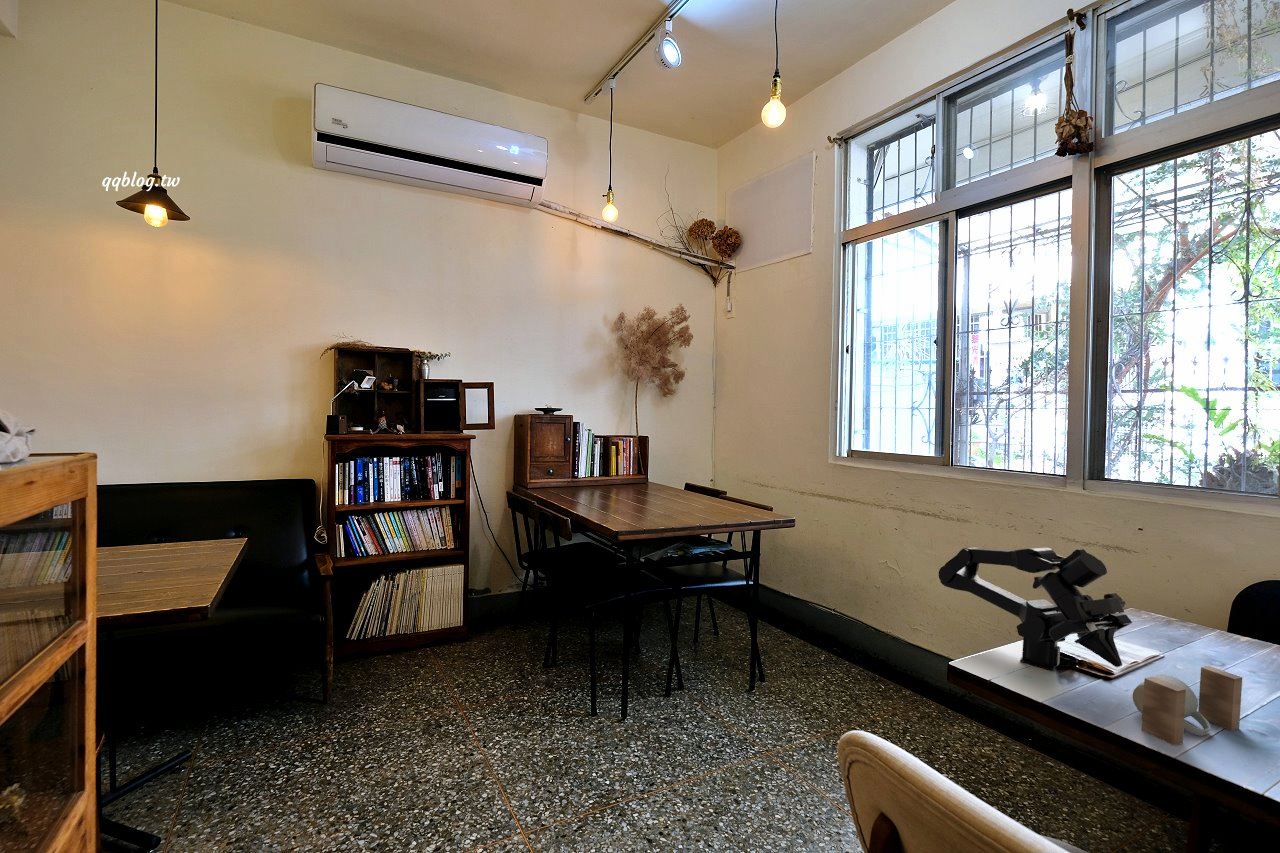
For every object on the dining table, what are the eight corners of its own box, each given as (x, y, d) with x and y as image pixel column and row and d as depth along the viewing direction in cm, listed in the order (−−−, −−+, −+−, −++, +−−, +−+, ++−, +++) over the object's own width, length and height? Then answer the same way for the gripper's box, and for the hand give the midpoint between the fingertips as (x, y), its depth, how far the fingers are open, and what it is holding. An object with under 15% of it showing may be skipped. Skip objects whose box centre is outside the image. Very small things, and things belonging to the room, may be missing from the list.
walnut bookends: (1141, 730, 106) (1144, 678, 105) (1205, 715, 112) (1208, 665, 112) (1173, 745, 101) (1177, 691, 101) (1239, 728, 107) (1242, 677, 107)
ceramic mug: (1127, 712, 112) (1130, 675, 112) (1148, 704, 116) (1151, 667, 115) (1198, 742, 102) (1201, 701, 102) (1218, 732, 106) (1221, 693, 106)
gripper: (1065, 583, 120) (1121, 656, 109) (1124, 577, 125) (1182, 645, 115) (1028, 607, 127) (1077, 677, 117) (1085, 600, 133) (1136, 666, 123)
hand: (1119, 666), depth 118 cm, fingers closed
